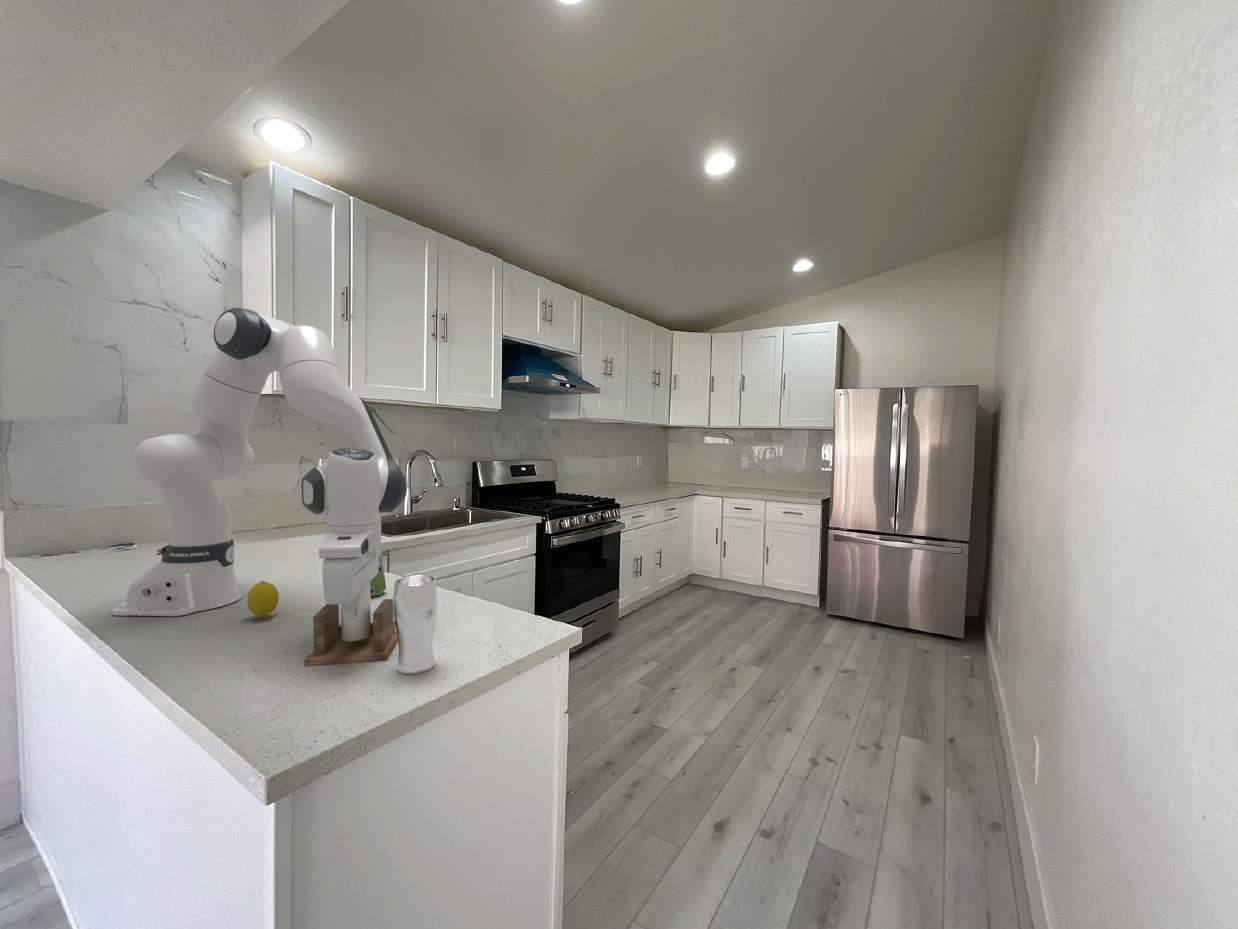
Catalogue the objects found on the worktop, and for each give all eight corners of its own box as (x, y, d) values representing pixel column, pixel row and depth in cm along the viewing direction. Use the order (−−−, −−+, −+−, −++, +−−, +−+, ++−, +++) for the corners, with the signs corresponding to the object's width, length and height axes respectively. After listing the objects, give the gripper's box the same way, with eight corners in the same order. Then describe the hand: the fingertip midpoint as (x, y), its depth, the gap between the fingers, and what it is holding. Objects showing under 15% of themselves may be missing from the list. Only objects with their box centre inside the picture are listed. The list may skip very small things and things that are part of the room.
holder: (304, 665, 88) (303, 619, 87) (327, 640, 99) (326, 599, 98) (387, 660, 91) (386, 615, 90) (400, 636, 101) (400, 596, 101)
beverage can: (390, 591, 130) (390, 544, 129) (374, 600, 123) (373, 550, 122) (367, 590, 131) (366, 543, 130) (349, 599, 123) (348, 549, 123)
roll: (337, 642, 92) (337, 585, 91) (346, 631, 96) (345, 577, 96) (366, 640, 93) (366, 584, 92) (373, 630, 97) (373, 576, 97)
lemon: (246, 617, 111) (245, 580, 110) (277, 611, 114) (276, 576, 114) (249, 624, 106) (247, 586, 106) (280, 618, 110) (279, 581, 110)
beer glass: (402, 658, 91) (401, 574, 91) (442, 657, 92) (441, 574, 91) (387, 676, 84) (386, 586, 84) (430, 675, 85) (430, 585, 84)
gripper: (353, 528, 103) (353, 596, 104) (314, 550, 83) (315, 635, 84) (386, 527, 104) (387, 595, 105) (356, 549, 84) (357, 632, 85)
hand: (355, 613), depth 94 cm, fingers closed on roll, 5 cm apart
